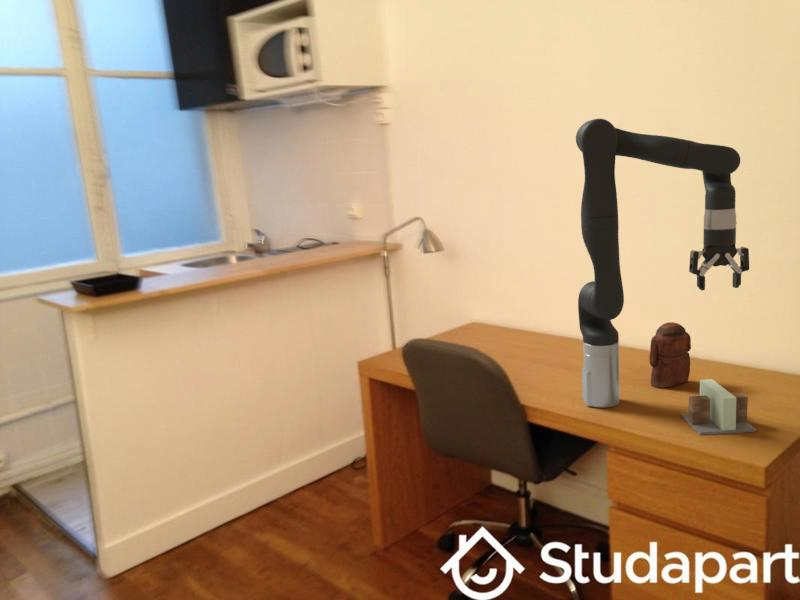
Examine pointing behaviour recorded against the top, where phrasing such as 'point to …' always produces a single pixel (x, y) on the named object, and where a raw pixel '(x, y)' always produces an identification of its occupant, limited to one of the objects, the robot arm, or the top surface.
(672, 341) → the wooden figurine
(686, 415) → the charcoal base board
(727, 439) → the top surface
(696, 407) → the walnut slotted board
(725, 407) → the pale green upright slab
